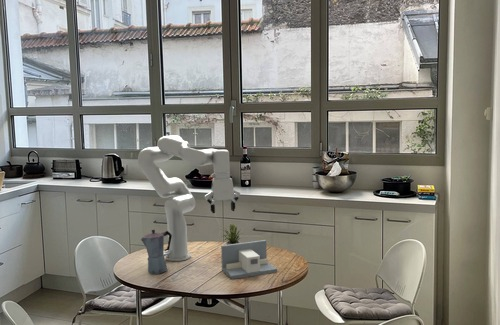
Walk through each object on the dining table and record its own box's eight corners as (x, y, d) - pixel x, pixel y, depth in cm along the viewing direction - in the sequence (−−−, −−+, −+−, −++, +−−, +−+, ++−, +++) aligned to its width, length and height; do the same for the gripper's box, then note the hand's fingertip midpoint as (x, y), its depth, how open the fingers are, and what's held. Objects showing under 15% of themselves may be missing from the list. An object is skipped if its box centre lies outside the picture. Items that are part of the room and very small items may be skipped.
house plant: (215, 251, 250) (214, 221, 248) (240, 248, 254) (239, 218, 252) (222, 259, 236) (221, 227, 235) (248, 255, 241) (247, 224, 239)
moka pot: (138, 272, 220) (136, 230, 218) (167, 264, 230) (165, 224, 228) (148, 277, 213) (145, 234, 211) (177, 269, 223) (175, 227, 220)
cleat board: (231, 279, 208) (230, 253, 206) (222, 269, 221) (221, 245, 219) (277, 271, 215) (276, 247, 214) (265, 263, 228) (265, 239, 227)
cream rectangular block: (248, 273, 210) (248, 258, 209) (238, 265, 222) (238, 250, 221) (261, 271, 212) (260, 256, 211) (250, 263, 224) (250, 248, 223)
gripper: (206, 178, 215) (207, 215, 217) (241, 175, 221) (242, 211, 223) (202, 176, 222) (203, 212, 224) (236, 173, 228) (237, 208, 230)
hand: (223, 211), depth 223 cm, fingers open, 9 cm apart
